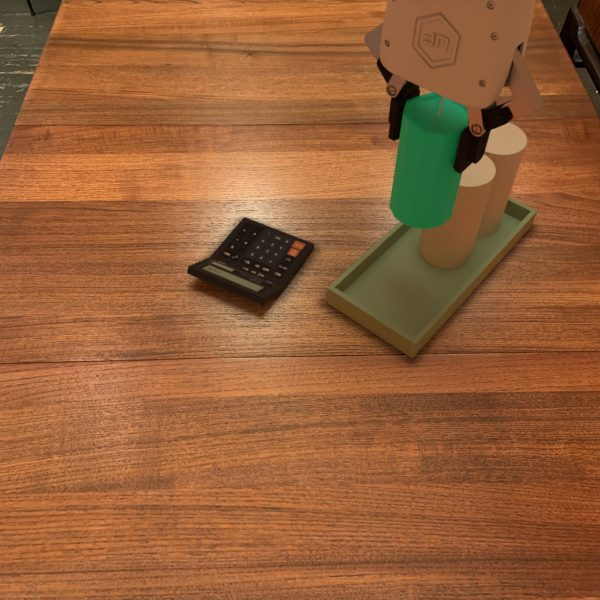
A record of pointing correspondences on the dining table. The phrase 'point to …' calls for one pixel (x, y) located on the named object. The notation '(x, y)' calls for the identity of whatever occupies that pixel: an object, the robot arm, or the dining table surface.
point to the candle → (427, 161)
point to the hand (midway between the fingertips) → (433, 146)
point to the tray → (418, 281)
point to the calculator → (254, 261)
